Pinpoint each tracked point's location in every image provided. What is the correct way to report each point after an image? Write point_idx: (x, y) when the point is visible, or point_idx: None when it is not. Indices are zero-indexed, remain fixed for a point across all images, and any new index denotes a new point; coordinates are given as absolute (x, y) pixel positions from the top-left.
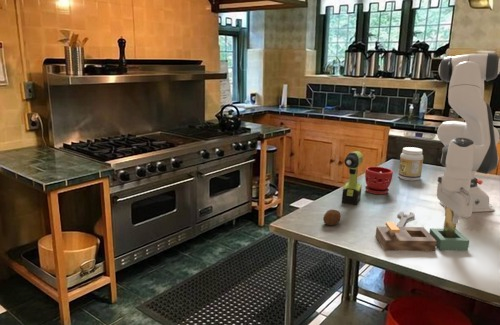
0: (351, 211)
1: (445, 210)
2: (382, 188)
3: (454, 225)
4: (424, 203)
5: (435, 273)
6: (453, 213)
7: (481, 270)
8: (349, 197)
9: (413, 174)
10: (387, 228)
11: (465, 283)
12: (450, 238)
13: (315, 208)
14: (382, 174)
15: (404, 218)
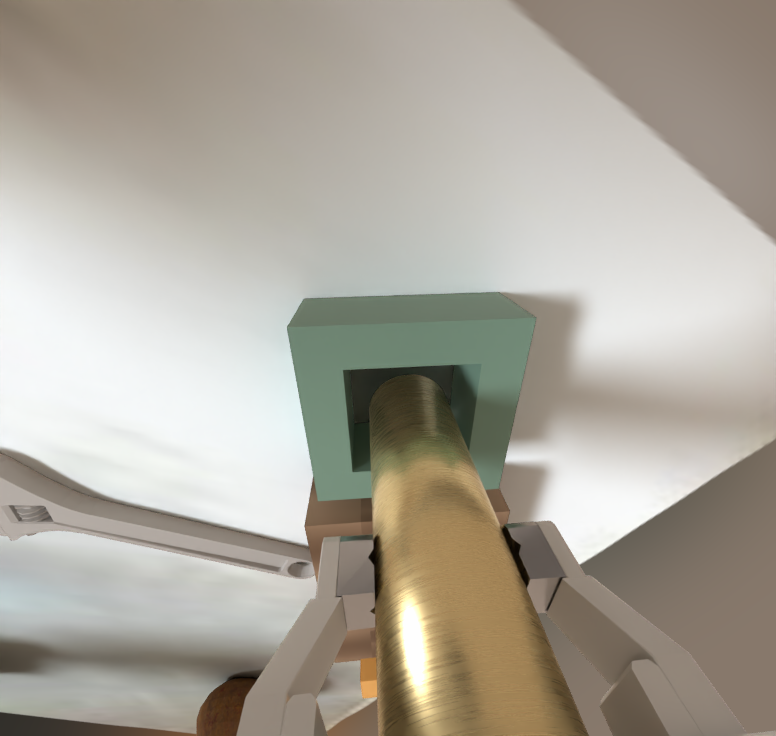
0: (82, 651)
1: (332, 661)
2: None
3: (483, 486)
4: None
5: (657, 504)
6: (607, 716)
7: (724, 322)
8: None
9: None
10: (352, 640)
11: (767, 435)
12: (481, 435)
13: (119, 712)
14: None
15: (74, 519)
